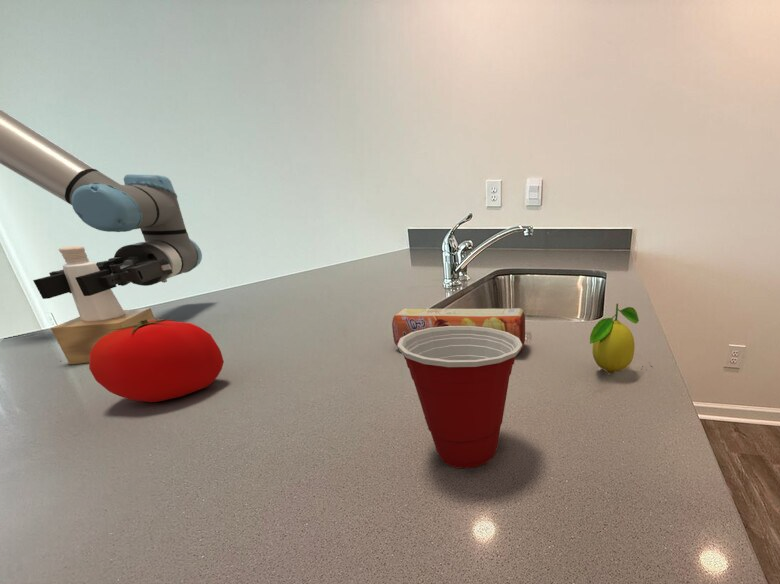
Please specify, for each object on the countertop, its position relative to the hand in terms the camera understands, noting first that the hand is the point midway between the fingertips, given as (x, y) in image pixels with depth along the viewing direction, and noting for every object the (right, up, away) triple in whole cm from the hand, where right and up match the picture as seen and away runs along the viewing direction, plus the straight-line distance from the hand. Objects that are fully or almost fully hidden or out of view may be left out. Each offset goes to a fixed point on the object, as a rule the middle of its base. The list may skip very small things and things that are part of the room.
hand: (62, 288), depth 59 cm
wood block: (-1, -8, +10) cm, 13 cm away
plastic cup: (+61, -21, -18) cm, 67 cm away
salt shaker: (-1, -3, +7) cm, 8 cm away
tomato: (+21, -15, -5) cm, 26 cm away
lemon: (+80, -13, -2) cm, 81 cm away
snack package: (+57, -8, +8) cm, 58 cm away
